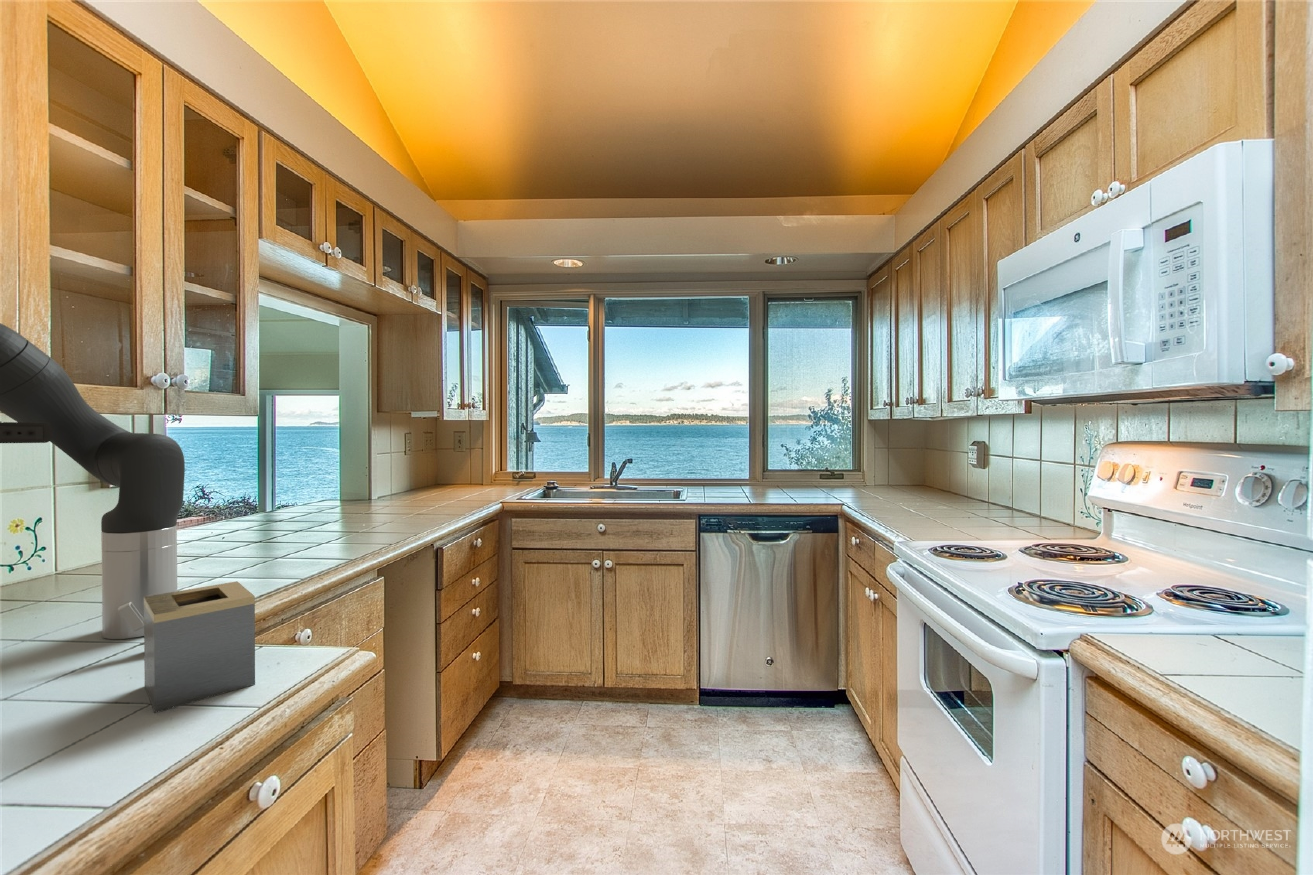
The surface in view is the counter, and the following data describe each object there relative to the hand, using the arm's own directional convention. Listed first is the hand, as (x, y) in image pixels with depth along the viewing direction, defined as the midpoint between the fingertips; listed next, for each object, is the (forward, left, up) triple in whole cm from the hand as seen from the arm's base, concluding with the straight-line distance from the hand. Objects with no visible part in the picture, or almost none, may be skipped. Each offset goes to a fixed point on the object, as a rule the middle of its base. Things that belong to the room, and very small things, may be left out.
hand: (50, 432), depth 63 cm
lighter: (-17, +10, -34) cm, 40 cm away
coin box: (+2, +13, -34) cm, 36 cm away
